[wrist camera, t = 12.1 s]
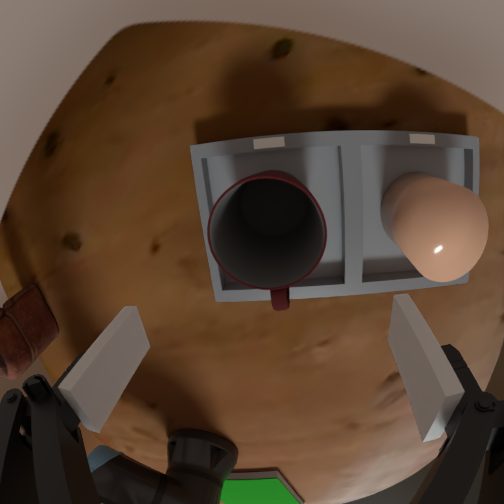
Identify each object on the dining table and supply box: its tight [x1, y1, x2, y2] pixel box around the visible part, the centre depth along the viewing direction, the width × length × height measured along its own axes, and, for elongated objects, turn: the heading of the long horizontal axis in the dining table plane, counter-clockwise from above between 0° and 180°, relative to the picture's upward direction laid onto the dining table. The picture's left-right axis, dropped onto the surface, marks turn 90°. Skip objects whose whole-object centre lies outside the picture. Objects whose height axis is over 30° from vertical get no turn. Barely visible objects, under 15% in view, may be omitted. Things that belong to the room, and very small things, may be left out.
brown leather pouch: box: [0, 284, 59, 381], centre depth 36 cm, size 12×6×18 cm, turn 17°
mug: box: [207, 170, 327, 311], centre depth 27 cm, size 12×9×11 cm
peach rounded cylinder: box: [380, 172, 488, 282], centre depth 26 cm, size 9×9×9 cm
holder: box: [190, 130, 479, 302], centre depth 30 cm, size 32×18×3 cm, turn 97°
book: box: [220, 471, 304, 504], centre depth 60 cm, size 22×28×3 cm
